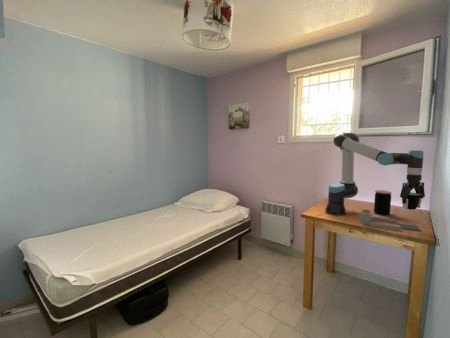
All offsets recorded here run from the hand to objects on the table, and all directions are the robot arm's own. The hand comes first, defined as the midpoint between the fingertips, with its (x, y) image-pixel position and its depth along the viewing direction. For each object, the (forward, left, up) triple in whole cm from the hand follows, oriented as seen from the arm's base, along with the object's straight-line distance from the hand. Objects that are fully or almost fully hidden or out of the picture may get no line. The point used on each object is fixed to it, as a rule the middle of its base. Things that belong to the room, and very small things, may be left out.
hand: (411, 207), depth 149 cm
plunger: (-25, -1, -10) cm, 27 cm away
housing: (-17, -1, -14) cm, 22 cm away
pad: (0, 0, -14) cm, 14 cm away
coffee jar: (-12, +28, -14) cm, 34 cm away
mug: (-1, 0, -1) cm, 1 cm away
